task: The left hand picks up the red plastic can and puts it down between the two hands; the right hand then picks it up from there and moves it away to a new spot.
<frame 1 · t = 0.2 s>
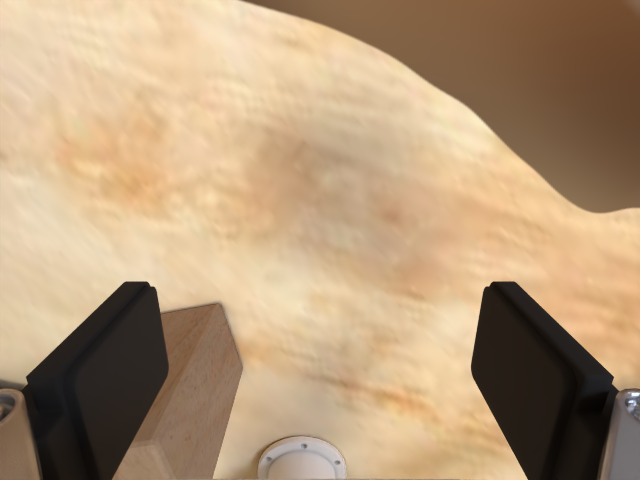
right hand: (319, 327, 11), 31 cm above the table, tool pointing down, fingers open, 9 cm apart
wooden block: (195, 342, 48), on the table
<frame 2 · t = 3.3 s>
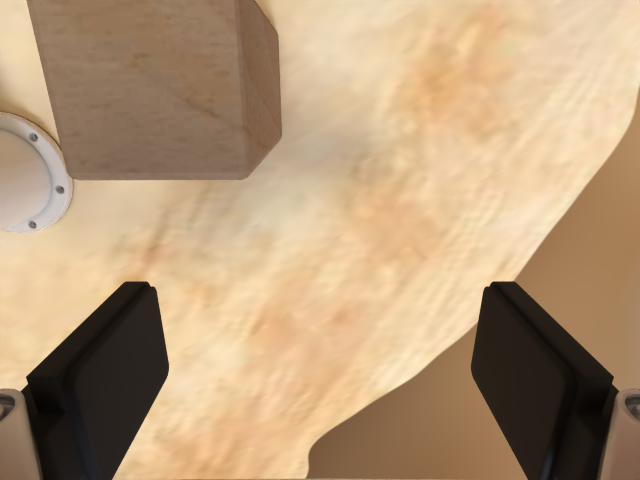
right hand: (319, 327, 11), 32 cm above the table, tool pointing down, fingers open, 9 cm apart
wooden block: (229, 88, 38), on the table
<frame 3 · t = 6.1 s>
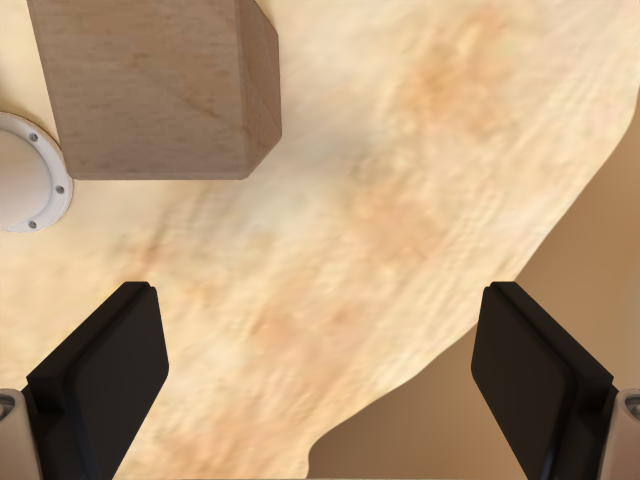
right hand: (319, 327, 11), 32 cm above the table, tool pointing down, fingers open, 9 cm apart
wooden block: (229, 88, 38), on the table
when the left hand's fingers open (2 cm above the table, at t = 8.9 s): can stays where it is, on the table.
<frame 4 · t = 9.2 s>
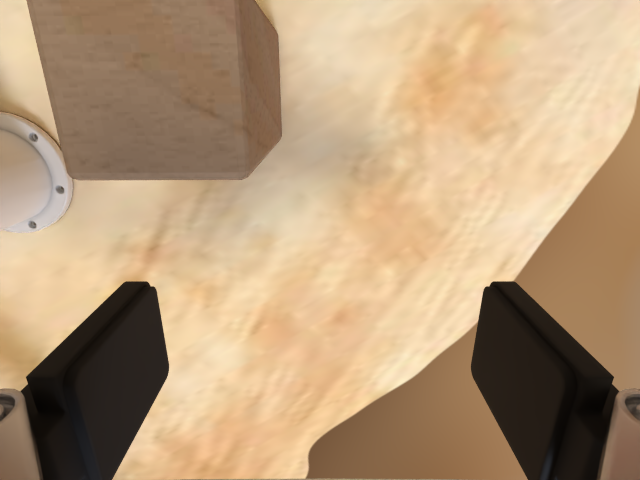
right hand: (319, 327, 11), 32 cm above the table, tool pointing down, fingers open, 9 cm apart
wooden block: (229, 88, 38), on the table
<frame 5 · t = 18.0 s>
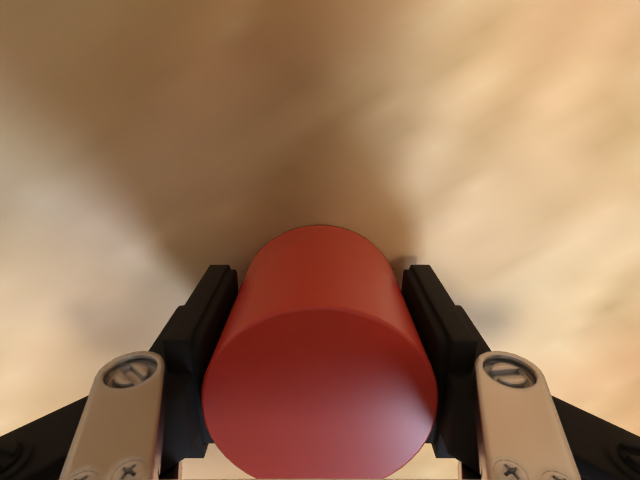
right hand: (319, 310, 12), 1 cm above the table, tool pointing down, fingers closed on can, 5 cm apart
can: (319, 296, 13), on the table, touching right hand
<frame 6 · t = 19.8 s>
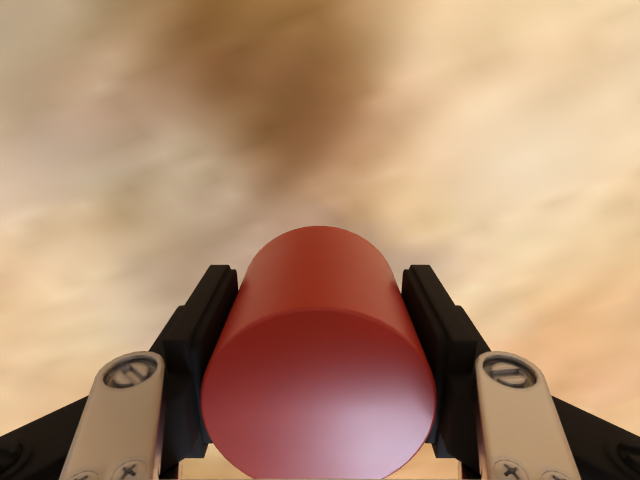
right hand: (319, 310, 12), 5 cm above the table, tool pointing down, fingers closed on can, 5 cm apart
can: (319, 297, 13), point 5 cm above the table, touching right hand
when the right hand's fingers open (1 cm above the table, at t = 21.8 s): can stays where it is, on the table.
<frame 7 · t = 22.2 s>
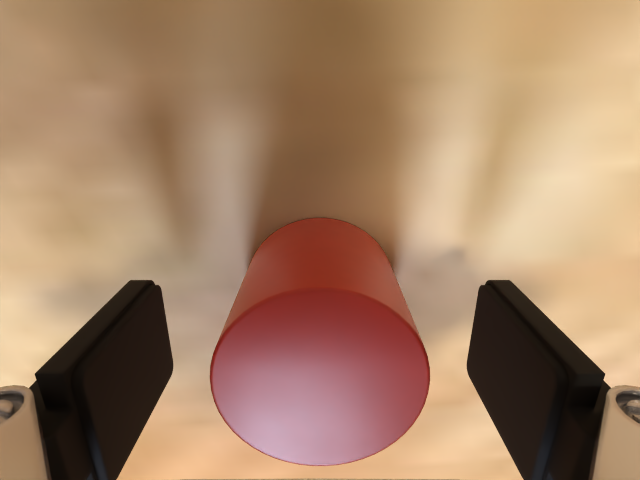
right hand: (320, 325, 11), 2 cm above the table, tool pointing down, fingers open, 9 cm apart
can: (319, 286, 13), on the table
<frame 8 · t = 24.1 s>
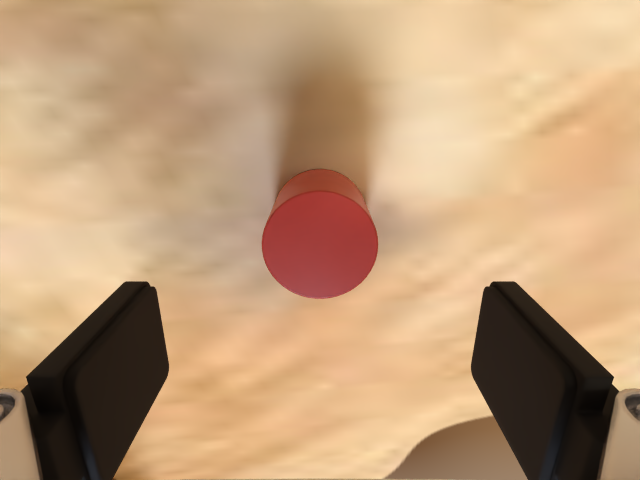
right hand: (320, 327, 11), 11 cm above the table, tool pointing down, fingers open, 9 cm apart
can: (319, 214, 21), on the table
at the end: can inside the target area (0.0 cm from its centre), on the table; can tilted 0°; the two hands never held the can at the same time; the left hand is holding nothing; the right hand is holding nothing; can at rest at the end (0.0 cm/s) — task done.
